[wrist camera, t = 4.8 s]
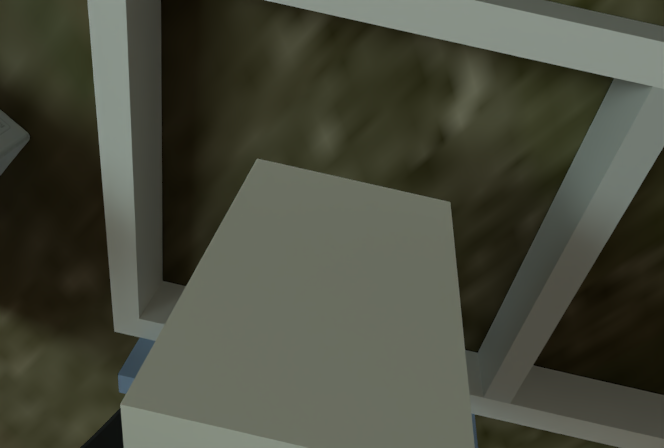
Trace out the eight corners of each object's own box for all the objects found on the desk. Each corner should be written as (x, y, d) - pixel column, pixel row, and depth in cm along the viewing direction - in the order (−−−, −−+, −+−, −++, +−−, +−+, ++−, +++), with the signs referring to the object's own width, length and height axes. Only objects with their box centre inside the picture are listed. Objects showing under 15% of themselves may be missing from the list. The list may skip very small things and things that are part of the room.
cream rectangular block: (365, 433, 15) (340, 704, 10) (230, 402, 15) (139, 657, 10) (450, 202, 11) (478, 486, 6) (257, 158, 11) (120, 404, 6)
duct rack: (811, 464, 22) (880, 567, 19) (140, 310, 23) (92, 385, 19) (1209, 147, 14) (1457, 234, 10) (123, -93, 14) (33, -81, 11)
